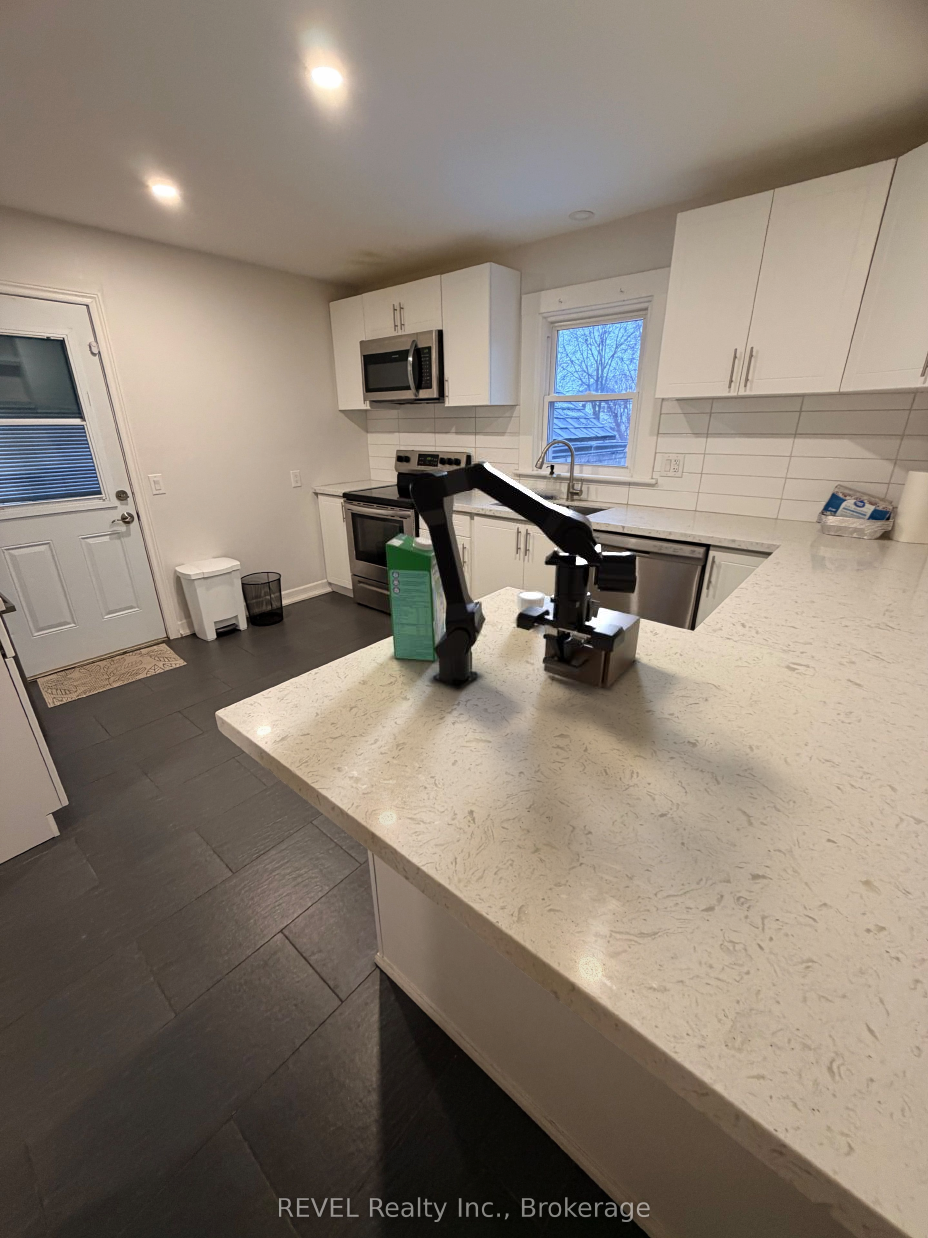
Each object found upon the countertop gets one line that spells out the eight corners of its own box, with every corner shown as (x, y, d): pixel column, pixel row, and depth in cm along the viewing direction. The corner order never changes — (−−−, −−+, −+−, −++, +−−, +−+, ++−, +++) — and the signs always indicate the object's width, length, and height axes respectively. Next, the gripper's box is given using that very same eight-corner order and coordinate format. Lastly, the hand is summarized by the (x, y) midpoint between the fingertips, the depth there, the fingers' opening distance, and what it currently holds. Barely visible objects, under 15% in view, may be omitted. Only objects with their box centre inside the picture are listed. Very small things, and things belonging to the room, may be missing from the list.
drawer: (587, 700, 87) (590, 660, 84) (531, 681, 93) (532, 643, 90) (626, 661, 100) (630, 625, 97) (574, 646, 107) (577, 613, 104)
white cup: (542, 616, 125) (544, 590, 123) (544, 627, 119) (545, 599, 116) (515, 615, 126) (516, 589, 123) (515, 626, 120) (516, 599, 117)
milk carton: (435, 661, 104) (430, 544, 94) (394, 657, 105) (385, 542, 96) (445, 643, 112) (441, 533, 102) (407, 640, 113) (399, 532, 104)
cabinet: (606, 688, 92) (612, 641, 89) (547, 669, 100) (549, 625, 96) (635, 659, 103) (640, 616, 99) (579, 643, 110) (582, 603, 106)
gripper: (641, 587, 85) (631, 666, 91) (546, 569, 96) (542, 641, 102) (616, 606, 77) (607, 692, 83) (515, 584, 88) (513, 662, 94)
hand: (565, 669), depth 91 cm, fingers closed
